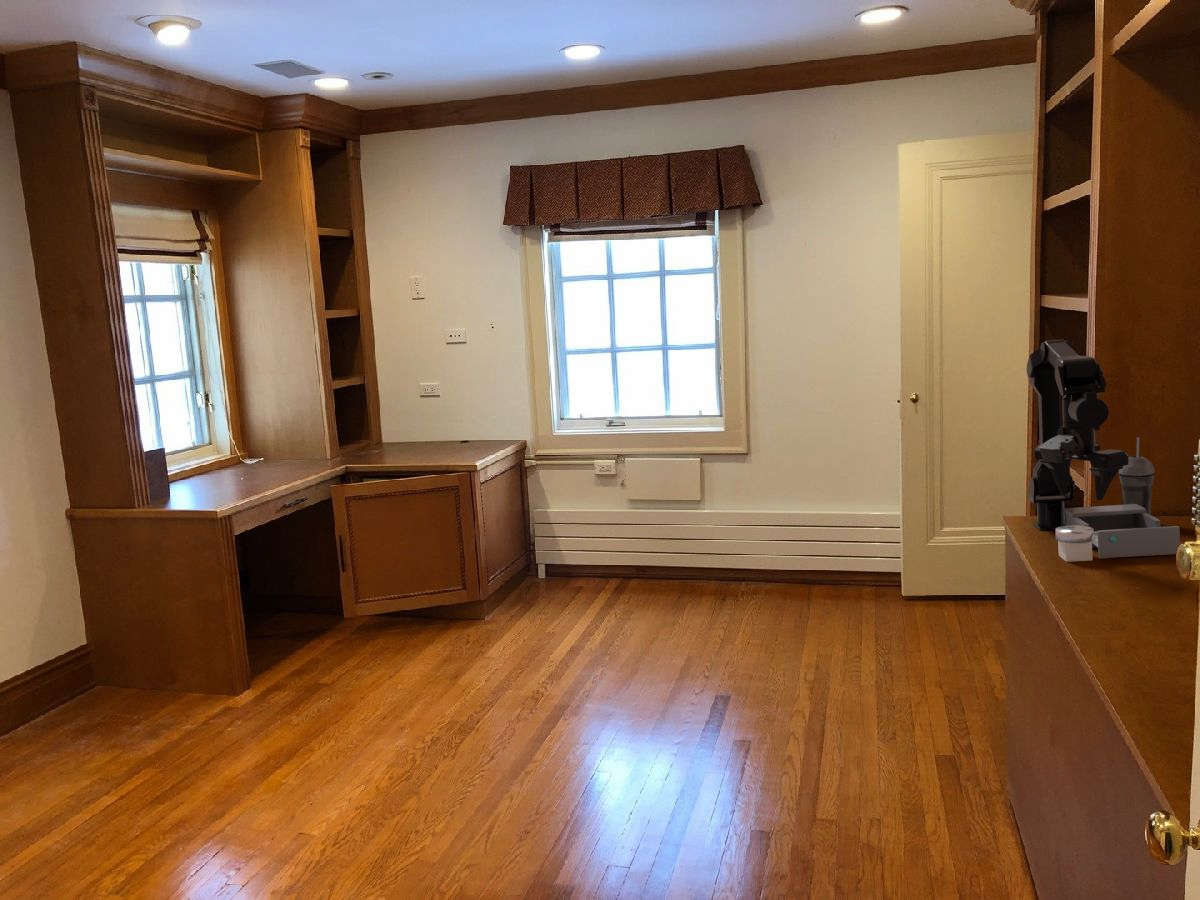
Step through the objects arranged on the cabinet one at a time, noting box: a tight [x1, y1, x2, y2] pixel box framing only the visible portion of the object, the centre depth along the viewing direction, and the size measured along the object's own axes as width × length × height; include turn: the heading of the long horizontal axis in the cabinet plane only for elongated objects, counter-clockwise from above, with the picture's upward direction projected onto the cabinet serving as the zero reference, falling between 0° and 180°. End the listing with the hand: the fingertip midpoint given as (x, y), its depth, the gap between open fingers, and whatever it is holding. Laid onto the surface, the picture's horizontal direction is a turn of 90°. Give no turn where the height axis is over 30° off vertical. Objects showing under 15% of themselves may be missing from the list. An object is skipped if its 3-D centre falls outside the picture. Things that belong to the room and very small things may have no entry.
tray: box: [1092, 525, 1181, 559], centre depth 203 cm, size 14×15×6 cm
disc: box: [1055, 525, 1094, 543], centre depth 200 cm, size 7×7×2 cm
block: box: [1057, 541, 1093, 563], centre depth 201 cm, size 5×5×4 cm
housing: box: [1064, 504, 1162, 549], centre depth 212 cm, size 13×15×6 cm
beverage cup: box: [1118, 437, 1156, 515], centre depth 221 cm, size 7×7×20 cm
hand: (1080, 496), depth 199 cm, fingers open, 9 cm apart
